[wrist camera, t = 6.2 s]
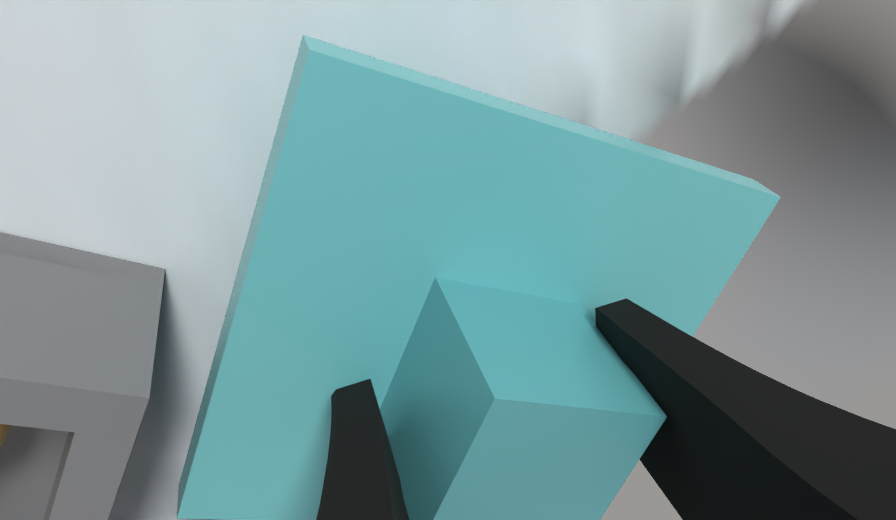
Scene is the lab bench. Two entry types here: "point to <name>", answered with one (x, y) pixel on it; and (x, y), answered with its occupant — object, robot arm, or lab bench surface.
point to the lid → (452, 297)
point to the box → (71, 376)
